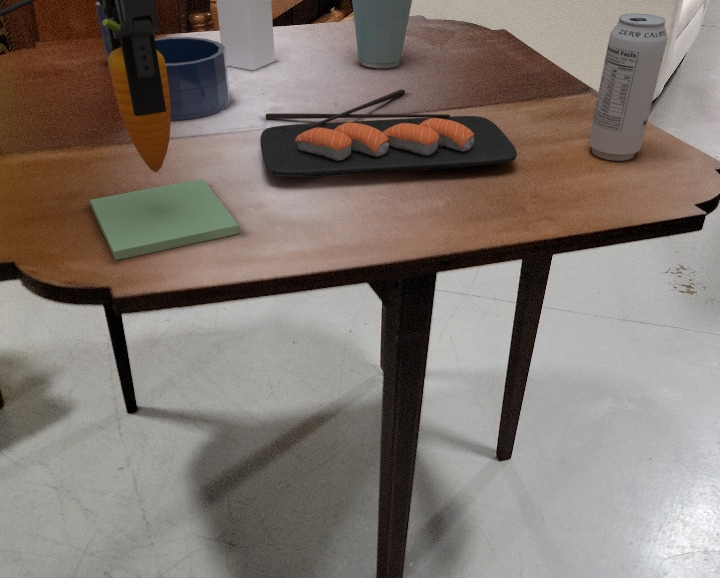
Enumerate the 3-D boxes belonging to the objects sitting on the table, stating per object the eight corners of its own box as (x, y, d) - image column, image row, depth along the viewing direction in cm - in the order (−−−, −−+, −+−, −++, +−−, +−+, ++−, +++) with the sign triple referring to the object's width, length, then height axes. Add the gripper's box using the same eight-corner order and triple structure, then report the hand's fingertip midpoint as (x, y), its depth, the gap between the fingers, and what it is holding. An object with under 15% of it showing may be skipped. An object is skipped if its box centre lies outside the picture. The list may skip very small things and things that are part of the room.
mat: (91, 208, 76) (89, 199, 75) (204, 186, 80) (203, 178, 79) (115, 260, 67) (113, 251, 67) (240, 233, 71) (239, 224, 71)
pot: (120, 95, 104) (110, 43, 100) (213, 82, 109) (207, 32, 104) (142, 126, 94) (132, 70, 90) (243, 111, 99) (238, 57, 95)
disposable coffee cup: (333, 64, 116) (331, -42, 107) (376, 50, 123) (378, -51, 114) (385, 77, 111) (388, -33, 102) (427, 62, 118) (433, -43, 108)
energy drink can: (648, 160, 86) (682, 24, 77) (600, 164, 85) (630, 26, 76) (623, 141, 91) (653, 11, 82) (578, 145, 90) (603, 13, 81)
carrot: (179, 181, 69) (151, 8, 59) (125, 183, 68) (89, 9, 59) (185, 160, 72) (159, -5, 63) (134, 162, 72) (101, -5, 63)
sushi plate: (266, 191, 79) (263, 157, 77) (254, 100, 102) (251, 72, 100) (523, 174, 83) (528, 142, 80) (455, 90, 106) (457, 63, 104)
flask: (103, 63, 116) (89, -11, 110) (120, 59, 118) (106, -14, 111) (135, 75, 111) (122, -1, 105) (152, 71, 113) (140, -4, 106)
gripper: (168, -228, 47) (212, 128, 61) (112, -223, 60) (160, 71, 74) (46, -229, 44) (121, 143, 59) (15, -224, 57) (83, 82, 71)
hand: (143, 102), depth 66 cm, fingers closed on carrot, 5 cm apart
